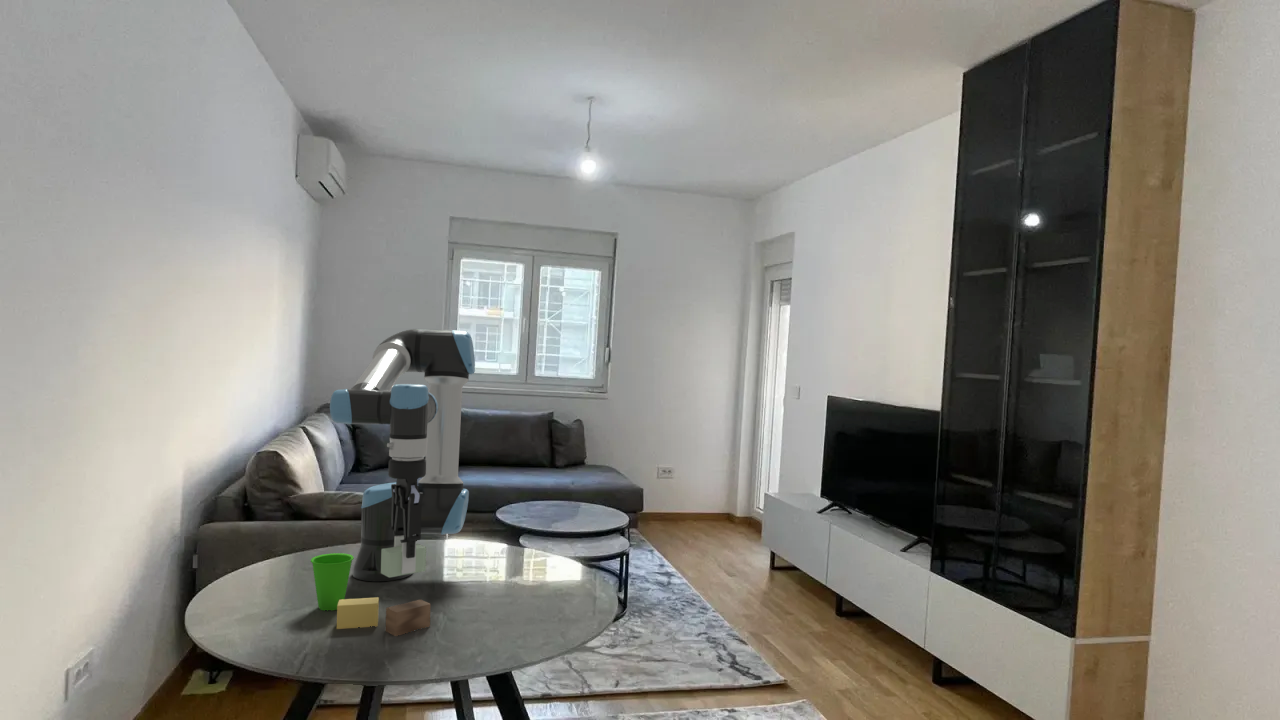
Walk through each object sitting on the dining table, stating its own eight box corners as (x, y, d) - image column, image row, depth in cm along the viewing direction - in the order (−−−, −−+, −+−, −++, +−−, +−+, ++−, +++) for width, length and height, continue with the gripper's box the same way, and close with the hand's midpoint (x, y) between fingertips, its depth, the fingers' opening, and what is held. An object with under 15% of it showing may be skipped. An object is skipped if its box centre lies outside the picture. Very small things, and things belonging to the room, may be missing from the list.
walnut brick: (395, 636, 154) (396, 612, 154) (385, 631, 156) (386, 607, 156) (429, 627, 160) (430, 603, 160) (419, 622, 162) (420, 599, 162)
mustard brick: (336, 629, 157) (337, 605, 157) (338, 623, 160) (339, 599, 160) (377, 626, 159) (377, 603, 159) (378, 620, 163) (378, 597, 163)
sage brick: (389, 577, 153) (389, 553, 153) (380, 573, 156) (381, 548, 156) (425, 570, 158) (426, 547, 158) (416, 566, 161) (417, 543, 161)
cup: (360, 603, 173) (362, 555, 173) (332, 616, 164) (334, 565, 164) (329, 598, 176) (330, 551, 176) (299, 610, 167) (301, 560, 167)
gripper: (377, 453, 162) (374, 561, 162) (402, 464, 148) (399, 583, 148) (412, 452, 167) (408, 557, 167) (440, 462, 152) (436, 577, 152)
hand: (404, 569), depth 157 cm, fingers closed on sage brick, 4 cm apart
